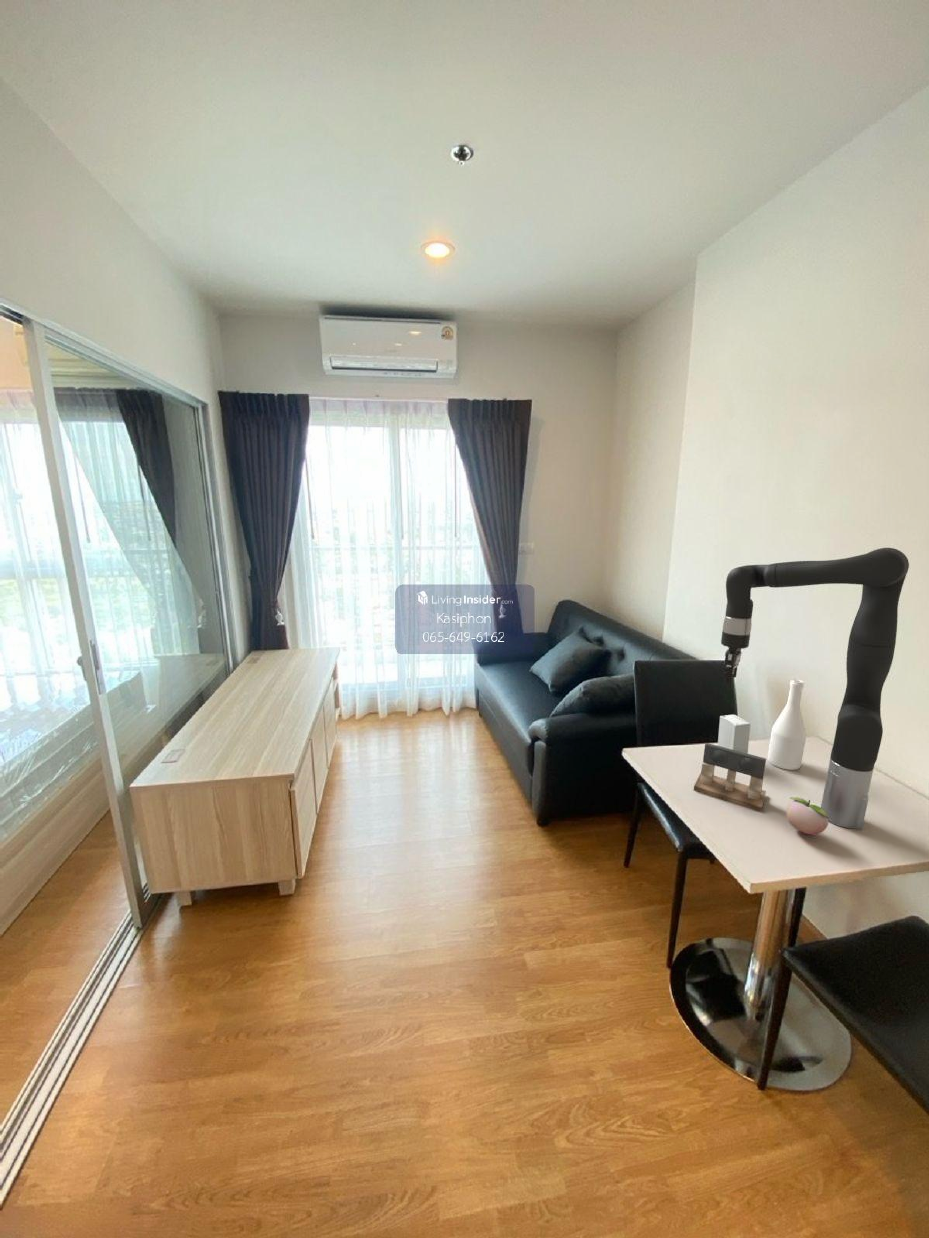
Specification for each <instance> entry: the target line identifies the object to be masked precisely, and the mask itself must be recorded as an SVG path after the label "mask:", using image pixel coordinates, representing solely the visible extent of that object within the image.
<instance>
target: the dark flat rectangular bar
mask: <svg viewBox="0 0 929 1238" xmlns="http://www.w3.org/2000/svg"><path fill="white" fill-rule="evenodd" d="M703 762H704V763H708V764H711V765H715V767H719V768H722V769H725V770H728V769H729V770H732V771H736V773H740V774H743V775H747V776H750V777H751V776H753V777H756V778H760V779H763V780H764V778H763V776H765V769H766V762H767V758H765V757H761V756H758V755H754V754H750V753H748V754H747V753H743V752H739V751H736V750H732V749H728V748H724V747H720V746H718V744H717V745H716V744H712V743H709V742H706V743H705V744H704V751H703V758H702V763H703Z"/></svg>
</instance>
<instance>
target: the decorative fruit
mask: <svg viewBox="0 0 929 1238" xmlns="http://www.w3.org/2000/svg"><path fill="white" fill-rule="evenodd" d="M789 799H791V800H792V801H790V802H789V804H787V807H786V811H785V813H786V814H785V815H786V818H787V820H788V823H789V824H790V825H791V826H792V827H793V828H794V829H795V830H797V831H800V832H801V833H803V834H806V835H810V836H811V835H812V836H813V835H815V836H816V835H819V834H821V833H822V832H824V831H825V830H826V829H827V827H828V826H829V821H828V819H829V818H828V816H827V814H826V813H825V811H824V810H823V809H822V808H821V806H819V805H817V804H815V803H814V804H813V803H811V800H810V799H808V801H807V800H805V798H801V797H799V796H794V797H793V796H791V797H789Z"/></svg>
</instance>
